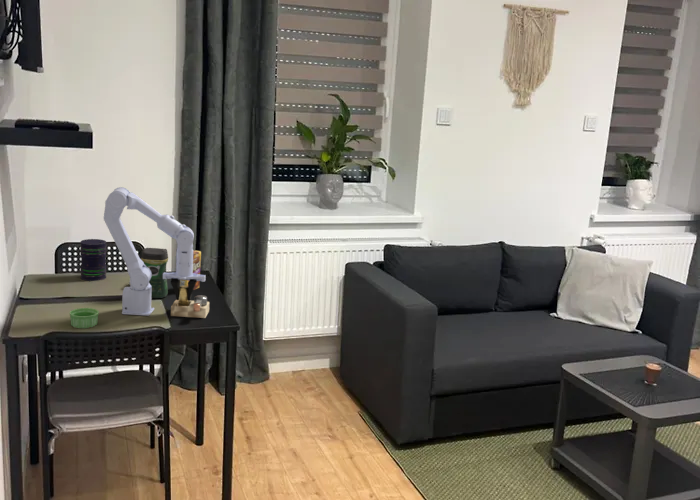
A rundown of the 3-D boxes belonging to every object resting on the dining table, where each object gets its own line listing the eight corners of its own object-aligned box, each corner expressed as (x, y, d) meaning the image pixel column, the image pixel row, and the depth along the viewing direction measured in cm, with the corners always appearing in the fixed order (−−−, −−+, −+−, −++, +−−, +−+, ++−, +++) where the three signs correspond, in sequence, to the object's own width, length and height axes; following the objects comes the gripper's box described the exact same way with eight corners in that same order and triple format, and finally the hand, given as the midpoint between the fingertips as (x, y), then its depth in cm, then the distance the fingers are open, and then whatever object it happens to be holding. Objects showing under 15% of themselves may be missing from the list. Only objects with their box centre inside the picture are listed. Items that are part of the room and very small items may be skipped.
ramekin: (96, 319, 229) (96, 306, 228) (101, 328, 222) (100, 315, 221) (68, 321, 225) (67, 308, 224) (71, 330, 217) (71, 317, 217)
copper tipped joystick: (189, 311, 233) (189, 303, 233) (195, 302, 244) (195, 294, 243) (202, 312, 234) (202, 304, 233) (207, 302, 244) (208, 295, 244)
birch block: (170, 315, 238) (171, 306, 238) (175, 308, 246) (175, 299, 245) (205, 318, 239) (205, 308, 238) (209, 311, 247) (209, 301, 246)
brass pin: (177, 307, 240) (177, 288, 238) (179, 303, 243) (180, 285, 242) (187, 307, 240) (187, 288, 238) (189, 304, 243) (189, 285, 242)
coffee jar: (169, 293, 263) (170, 246, 259) (164, 299, 256) (165, 251, 252) (144, 292, 263) (144, 245, 259) (138, 298, 255) (139, 249, 251)
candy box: (186, 293, 266) (187, 255, 262) (177, 291, 267) (178, 253, 264) (200, 288, 274) (201, 251, 270) (191, 286, 275) (192, 249, 272)
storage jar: (76, 279, 272) (75, 243, 268) (86, 273, 281) (86, 238, 278) (100, 281, 271) (100, 245, 268) (110, 275, 281) (110, 240, 278)
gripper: (160, 263, 234) (160, 301, 237) (203, 266, 235) (202, 304, 238) (165, 258, 241) (164, 295, 244) (206, 261, 242) (205, 298, 245)
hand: (183, 299), depth 241 cm, fingers closed on brass pin, 3 cm apart
